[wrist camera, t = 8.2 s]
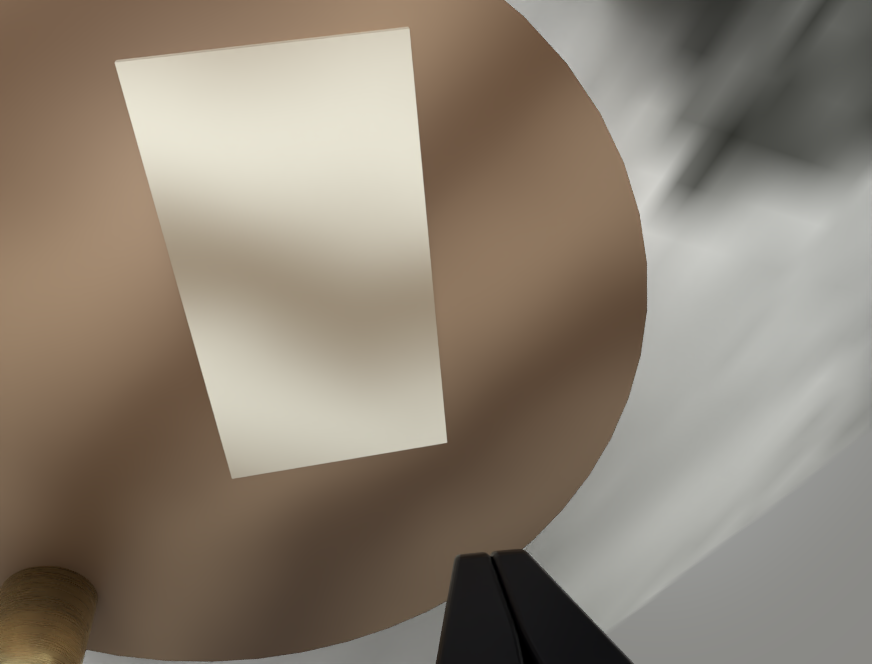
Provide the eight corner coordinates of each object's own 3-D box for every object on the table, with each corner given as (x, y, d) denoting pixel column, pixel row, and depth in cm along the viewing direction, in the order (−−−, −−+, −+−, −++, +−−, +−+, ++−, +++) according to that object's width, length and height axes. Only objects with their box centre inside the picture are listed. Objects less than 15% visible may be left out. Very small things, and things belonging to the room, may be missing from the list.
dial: (769, 254, 21) (932, 388, 16) (322, 684, 27) (331, 886, 22) (45, -430, 12) (-134, -647, 7) (-380, 427, 18) (-650, 659, 13)
